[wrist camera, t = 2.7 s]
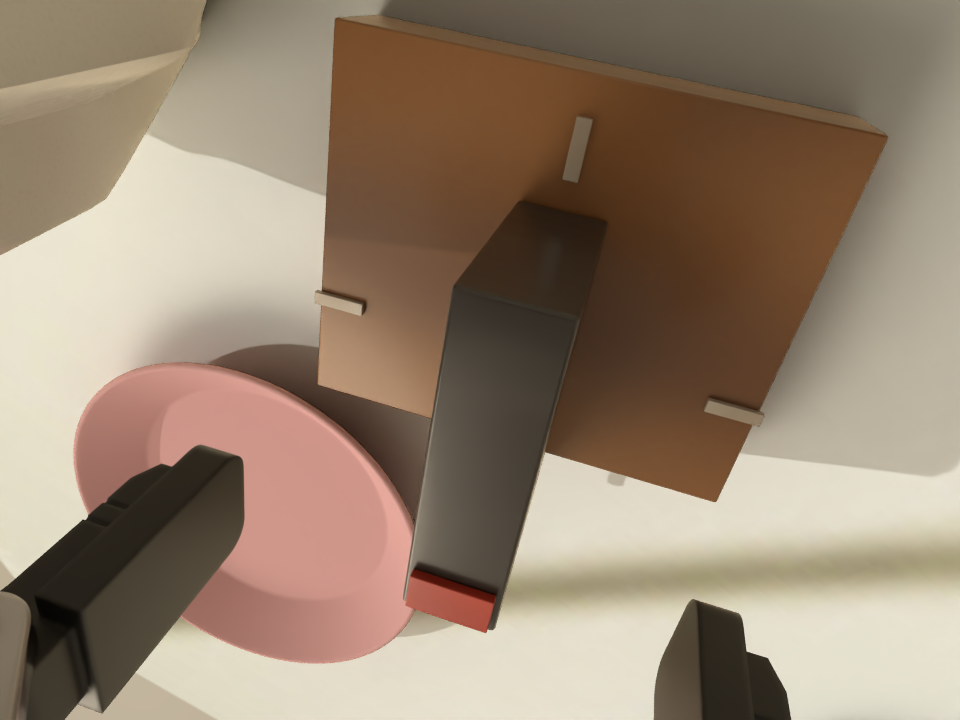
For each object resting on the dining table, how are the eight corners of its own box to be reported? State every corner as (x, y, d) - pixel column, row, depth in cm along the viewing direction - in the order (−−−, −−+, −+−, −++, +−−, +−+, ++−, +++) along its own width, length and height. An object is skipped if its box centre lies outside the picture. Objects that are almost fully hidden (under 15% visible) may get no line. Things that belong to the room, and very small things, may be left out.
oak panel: (372, 13, 17) (326, 16, 15) (864, 117, 15) (898, 138, 13) (342, 421, 24) (307, 466, 21) (682, 524, 22) (683, 584, 20)
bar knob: (518, 198, 16) (446, 289, 11) (609, 221, 15) (578, 325, 10) (465, 458, 20) (397, 610, 15) (537, 480, 19) (490, 641, 15)
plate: (265, 653, 32) (242, 690, 30) (48, 425, 28) (8, 453, 26) (509, 579, 25) (498, 621, 24) (272, 268, 21) (237, 292, 20)
